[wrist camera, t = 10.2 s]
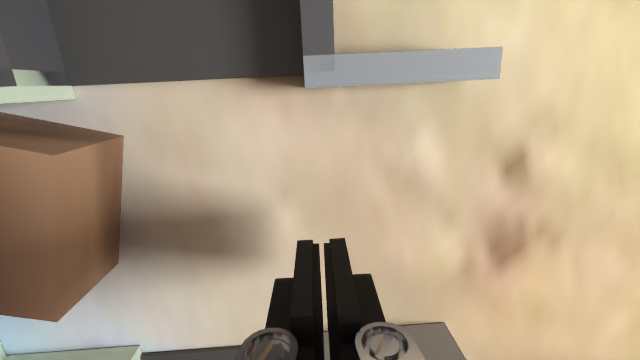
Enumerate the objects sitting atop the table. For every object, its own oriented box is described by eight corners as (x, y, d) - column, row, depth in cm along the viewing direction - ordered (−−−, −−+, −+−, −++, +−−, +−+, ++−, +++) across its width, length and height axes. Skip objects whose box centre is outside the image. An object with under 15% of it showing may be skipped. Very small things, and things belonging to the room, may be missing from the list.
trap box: (480, -132, 11) (529, -192, 9) (436, 422, 19) (456, 472, 16) (-222, -114, 10) (-380, -173, 8) (29, 457, 18) (-14, 515, 15)
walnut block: (126, 134, 13) (53, 155, 9) (120, 261, 15) (56, 322, 11) (-32, 104, 13) (-178, 113, 9) (-20, 239, 14) (-139, 296, 10)
